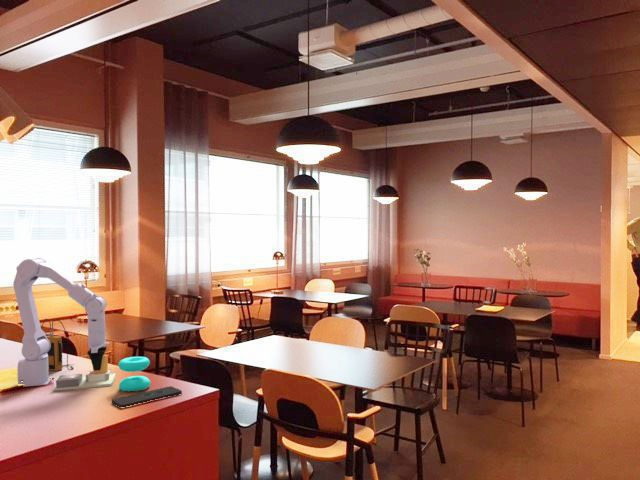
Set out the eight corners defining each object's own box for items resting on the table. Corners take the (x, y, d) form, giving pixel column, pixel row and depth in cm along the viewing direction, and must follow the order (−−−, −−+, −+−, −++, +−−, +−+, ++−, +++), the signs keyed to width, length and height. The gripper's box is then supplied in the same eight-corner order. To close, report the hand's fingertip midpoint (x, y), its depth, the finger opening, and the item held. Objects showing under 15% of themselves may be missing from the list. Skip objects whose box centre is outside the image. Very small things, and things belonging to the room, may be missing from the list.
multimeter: (84, 365, 216) (82, 315, 216) (64, 372, 207) (63, 319, 206) (55, 363, 221) (53, 314, 221) (35, 369, 212) (33, 318, 211)
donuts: (130, 364, 176) (112, 360, 182) (131, 394, 176) (112, 390, 182) (155, 357, 184) (137, 354, 190) (156, 387, 184) (137, 382, 190)
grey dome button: (56, 388, 182) (56, 380, 182) (60, 382, 189) (60, 375, 189) (78, 386, 184) (78, 378, 184) (82, 380, 191) (82, 373, 191)
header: (86, 381, 190) (85, 375, 190) (88, 377, 196) (88, 371, 196) (108, 379, 192) (108, 373, 192) (110, 375, 198) (110, 369, 198)
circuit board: (54, 390, 182) (54, 388, 182) (63, 379, 196) (63, 377, 196) (111, 385, 187) (111, 383, 187) (116, 375, 200) (116, 373, 200)
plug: (92, 376, 192) (92, 357, 192) (94, 374, 195) (93, 355, 195) (107, 375, 193) (106, 356, 193) (108, 373, 196) (107, 354, 196)
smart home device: (182, 390, 175) (121, 404, 162) (182, 395, 175) (121, 410, 162) (170, 385, 181) (110, 398, 168) (170, 390, 181) (111, 404, 168)
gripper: (106, 333, 187) (107, 373, 188) (111, 326, 201) (112, 363, 202) (84, 335, 186) (85, 374, 186) (90, 328, 200) (91, 364, 200)
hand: (97, 368), depth 194 cm, fingers closed on plug, 3 cm apart
